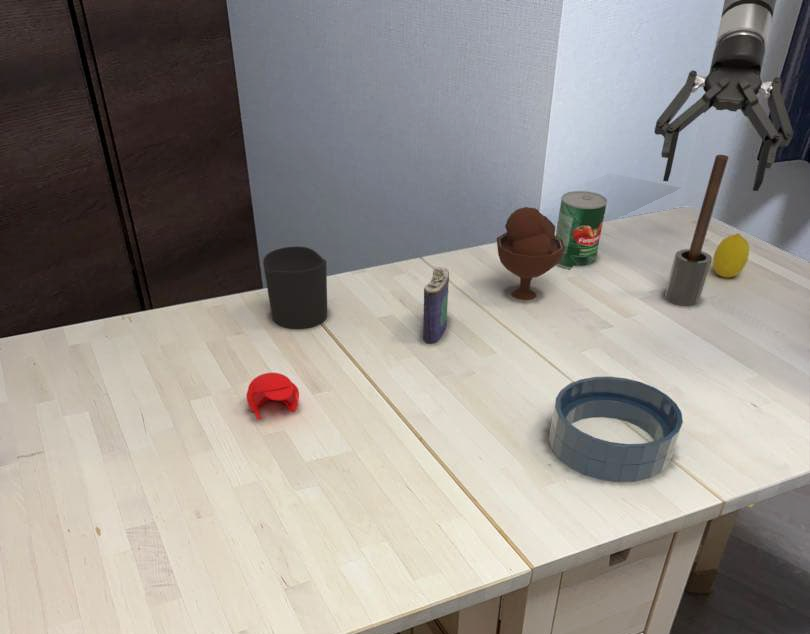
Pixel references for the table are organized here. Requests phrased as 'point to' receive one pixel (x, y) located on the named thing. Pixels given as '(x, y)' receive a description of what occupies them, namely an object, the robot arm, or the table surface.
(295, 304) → the pen holder
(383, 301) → the table surface
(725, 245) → the lemon
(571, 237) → the canned tomato
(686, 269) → the utensil pot
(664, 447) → the grey-blue hollow ring
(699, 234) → the stick
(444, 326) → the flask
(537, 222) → the ice cream bowl
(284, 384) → the cap
